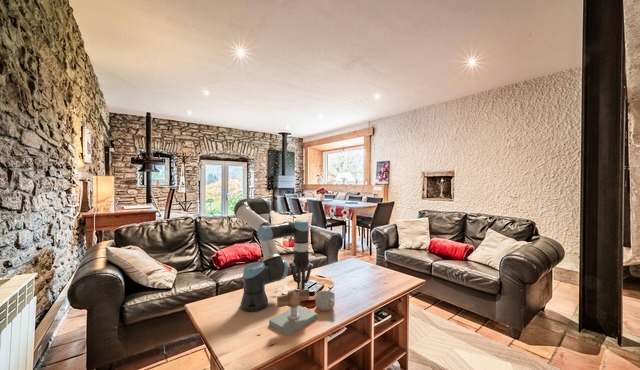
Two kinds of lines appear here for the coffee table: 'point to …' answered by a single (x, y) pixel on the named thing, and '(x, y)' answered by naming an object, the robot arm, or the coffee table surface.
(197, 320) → the coffee table surface
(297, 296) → the knob
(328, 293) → the teacup
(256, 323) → the coffee table surface
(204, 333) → the coffee table surface
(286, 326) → the grey-green base
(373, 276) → the coffee table surface
